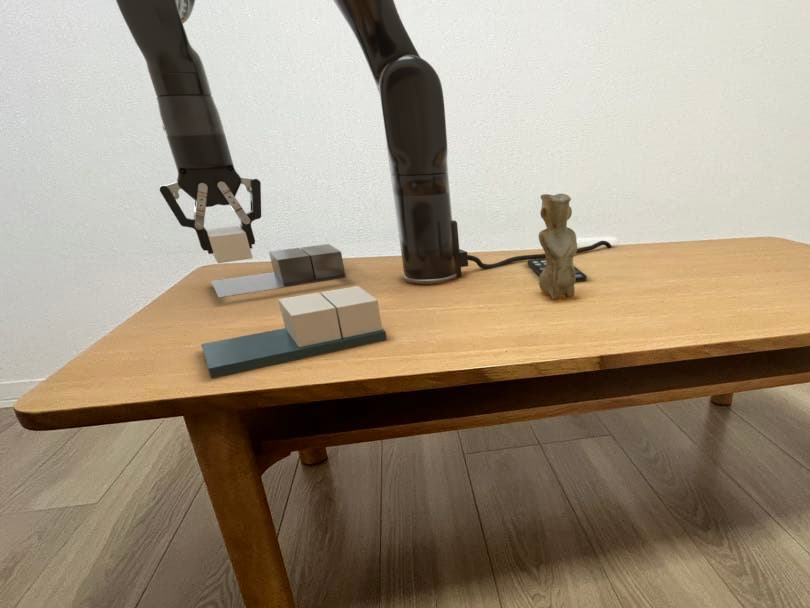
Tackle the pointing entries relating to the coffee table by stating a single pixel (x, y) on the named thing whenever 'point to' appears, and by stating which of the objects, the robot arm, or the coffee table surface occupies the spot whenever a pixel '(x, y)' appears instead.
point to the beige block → (229, 244)
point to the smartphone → (540, 264)
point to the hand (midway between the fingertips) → (230, 249)
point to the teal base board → (302, 332)
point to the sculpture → (557, 247)
